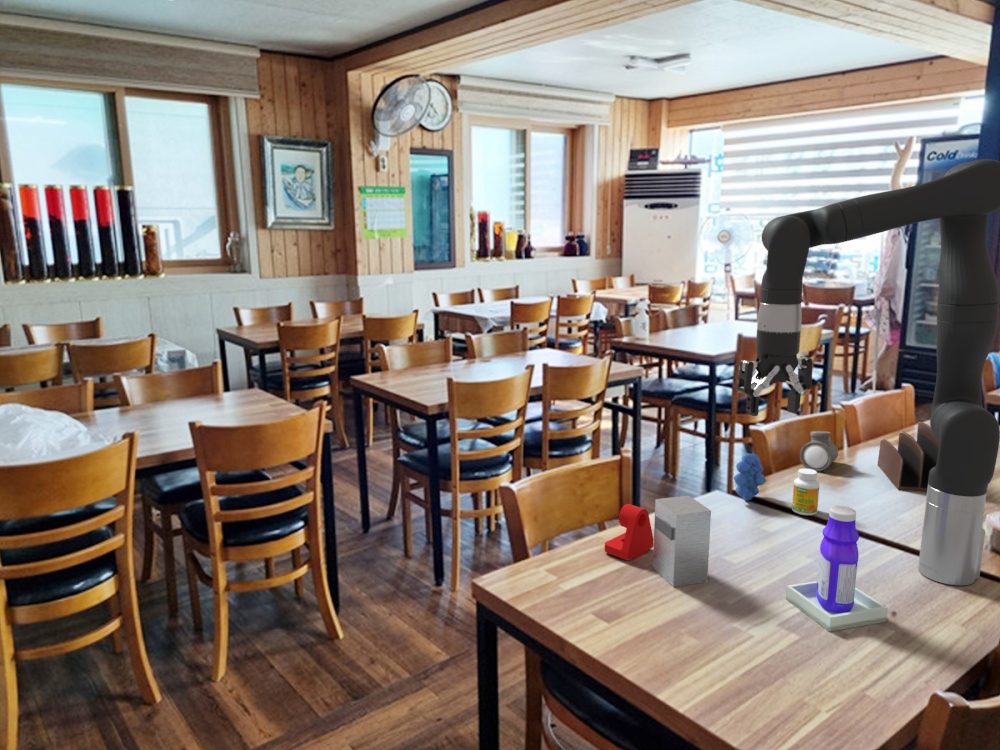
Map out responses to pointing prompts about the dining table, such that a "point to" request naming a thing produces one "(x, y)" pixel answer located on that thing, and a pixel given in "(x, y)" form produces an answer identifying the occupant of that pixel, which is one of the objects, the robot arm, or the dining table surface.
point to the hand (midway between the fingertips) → (772, 413)
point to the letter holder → (910, 459)
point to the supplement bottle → (805, 492)
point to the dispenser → (681, 540)
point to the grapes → (749, 476)
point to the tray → (860, 615)
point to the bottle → (838, 561)
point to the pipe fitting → (818, 451)
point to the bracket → (632, 534)
